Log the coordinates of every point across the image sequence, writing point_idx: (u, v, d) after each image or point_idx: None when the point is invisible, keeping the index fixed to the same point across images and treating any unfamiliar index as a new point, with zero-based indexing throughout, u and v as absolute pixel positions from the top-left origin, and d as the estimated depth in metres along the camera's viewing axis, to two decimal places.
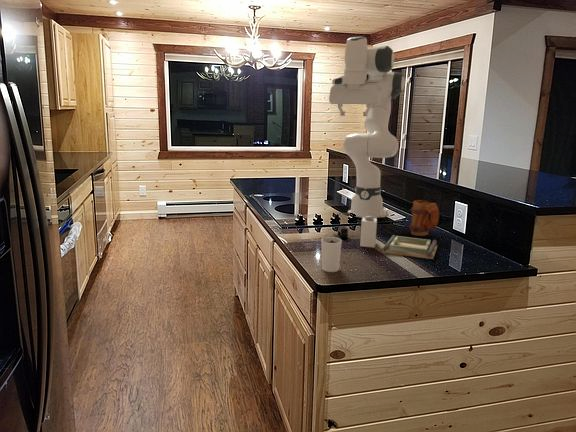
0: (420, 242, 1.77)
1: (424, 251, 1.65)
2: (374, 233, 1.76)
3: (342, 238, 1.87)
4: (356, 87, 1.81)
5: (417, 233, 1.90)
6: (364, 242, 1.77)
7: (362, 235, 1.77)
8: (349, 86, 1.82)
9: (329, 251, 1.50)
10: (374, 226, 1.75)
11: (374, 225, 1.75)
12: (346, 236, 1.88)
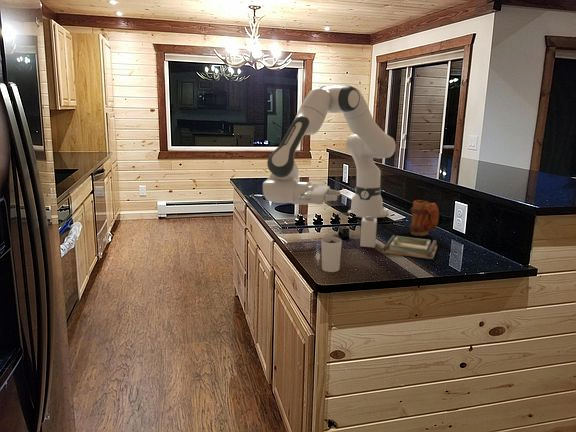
0: (420, 242, 1.77)
1: (424, 251, 1.65)
2: (374, 233, 1.76)
3: (344, 238, 1.87)
4: None
5: (417, 233, 1.90)
6: (364, 242, 1.77)
7: (362, 235, 1.77)
8: None
9: (329, 251, 1.50)
10: (374, 226, 1.75)
11: (374, 225, 1.75)
12: (347, 236, 1.88)
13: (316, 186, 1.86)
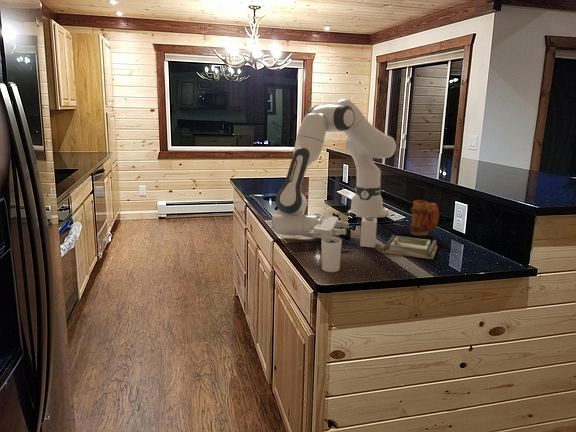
0: (420, 242, 1.77)
1: (424, 251, 1.65)
2: (374, 233, 1.76)
3: (346, 238, 1.87)
4: None
5: (417, 233, 1.90)
6: (364, 242, 1.77)
7: (362, 235, 1.77)
8: None
9: (329, 251, 1.50)
10: (374, 226, 1.75)
11: (374, 225, 1.75)
12: (349, 235, 1.89)
13: (325, 218, 1.89)
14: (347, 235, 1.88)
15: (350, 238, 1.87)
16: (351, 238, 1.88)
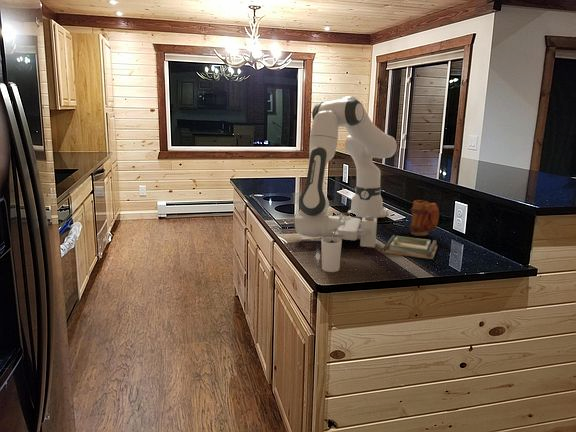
0: (420, 242, 1.77)
1: (424, 251, 1.65)
2: (374, 233, 1.76)
3: None
4: None
5: (417, 233, 1.90)
6: (364, 242, 1.77)
7: (362, 235, 1.77)
8: None
9: (329, 251, 1.50)
10: (374, 226, 1.75)
11: (374, 225, 1.75)
12: None
13: (347, 219, 1.87)
14: None
15: None
16: None
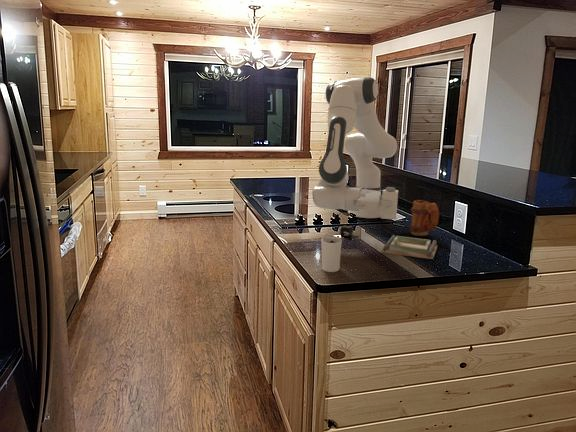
0: (420, 242, 1.77)
1: (424, 251, 1.65)
2: (396, 204, 1.70)
3: (351, 237, 1.89)
4: None
5: (417, 233, 1.90)
6: (385, 214, 1.72)
7: None
8: None
9: (329, 251, 1.50)
10: (396, 197, 1.69)
11: (396, 196, 1.69)
12: (351, 234, 1.91)
13: (367, 191, 1.81)
14: (350, 234, 1.90)
15: (354, 237, 1.89)
16: (355, 237, 1.90)
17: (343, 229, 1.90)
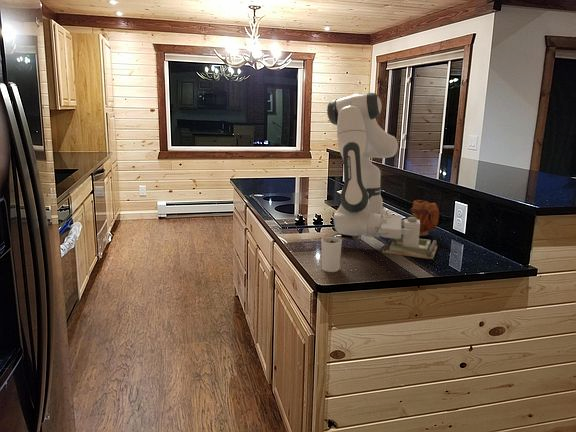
0: (420, 242, 1.77)
1: (424, 251, 1.65)
2: (418, 235, 1.69)
3: (353, 236, 1.90)
4: None
5: None
6: (407, 244, 1.71)
7: (405, 237, 1.71)
8: None
9: (329, 251, 1.50)
10: (418, 228, 1.69)
11: (418, 226, 1.69)
12: None
13: (387, 216, 1.80)
14: None
15: None
16: None
17: None
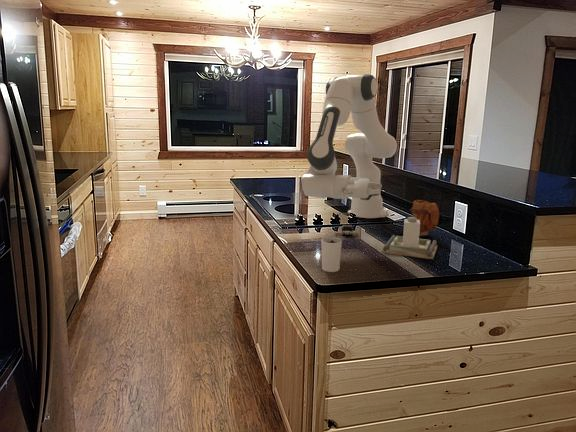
0: (420, 242, 1.77)
1: (424, 251, 1.65)
2: (418, 235, 1.69)
3: (353, 235, 1.92)
4: None
5: None
6: (407, 244, 1.71)
7: (405, 237, 1.71)
8: None
9: (329, 251, 1.50)
10: (418, 228, 1.69)
11: (418, 226, 1.69)
12: (351, 232, 1.93)
13: (355, 179, 1.79)
14: None
15: (355, 234, 1.93)
16: (355, 234, 1.93)
17: (345, 228, 1.91)
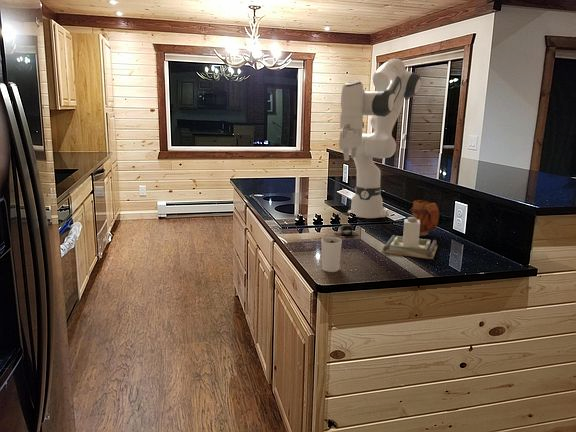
0: (420, 242, 1.77)
1: (424, 251, 1.65)
2: (418, 235, 1.69)
3: (353, 234, 1.93)
4: None
5: None
6: (407, 244, 1.71)
7: (405, 237, 1.71)
8: None
9: (329, 251, 1.50)
10: (418, 228, 1.69)
11: (418, 226, 1.69)
12: None
13: (359, 133, 1.91)
14: None
15: (354, 233, 1.94)
16: (354, 233, 1.95)
17: (346, 228, 1.91)
